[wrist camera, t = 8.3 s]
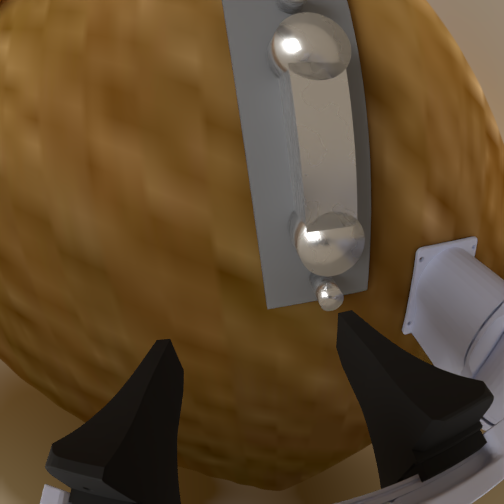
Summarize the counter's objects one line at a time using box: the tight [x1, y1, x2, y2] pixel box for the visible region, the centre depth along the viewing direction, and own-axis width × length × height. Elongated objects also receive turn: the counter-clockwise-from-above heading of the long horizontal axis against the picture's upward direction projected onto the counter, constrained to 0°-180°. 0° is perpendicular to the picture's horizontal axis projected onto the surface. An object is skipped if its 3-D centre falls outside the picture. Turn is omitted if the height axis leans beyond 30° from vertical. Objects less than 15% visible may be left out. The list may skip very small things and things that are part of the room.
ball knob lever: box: [266, 12, 365, 276], centre depth 15 cm, size 15×4×3 cm, turn 8°
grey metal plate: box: [222, 0, 371, 311], centre depth 15 cm, size 23×8×4 cm, turn 8°
